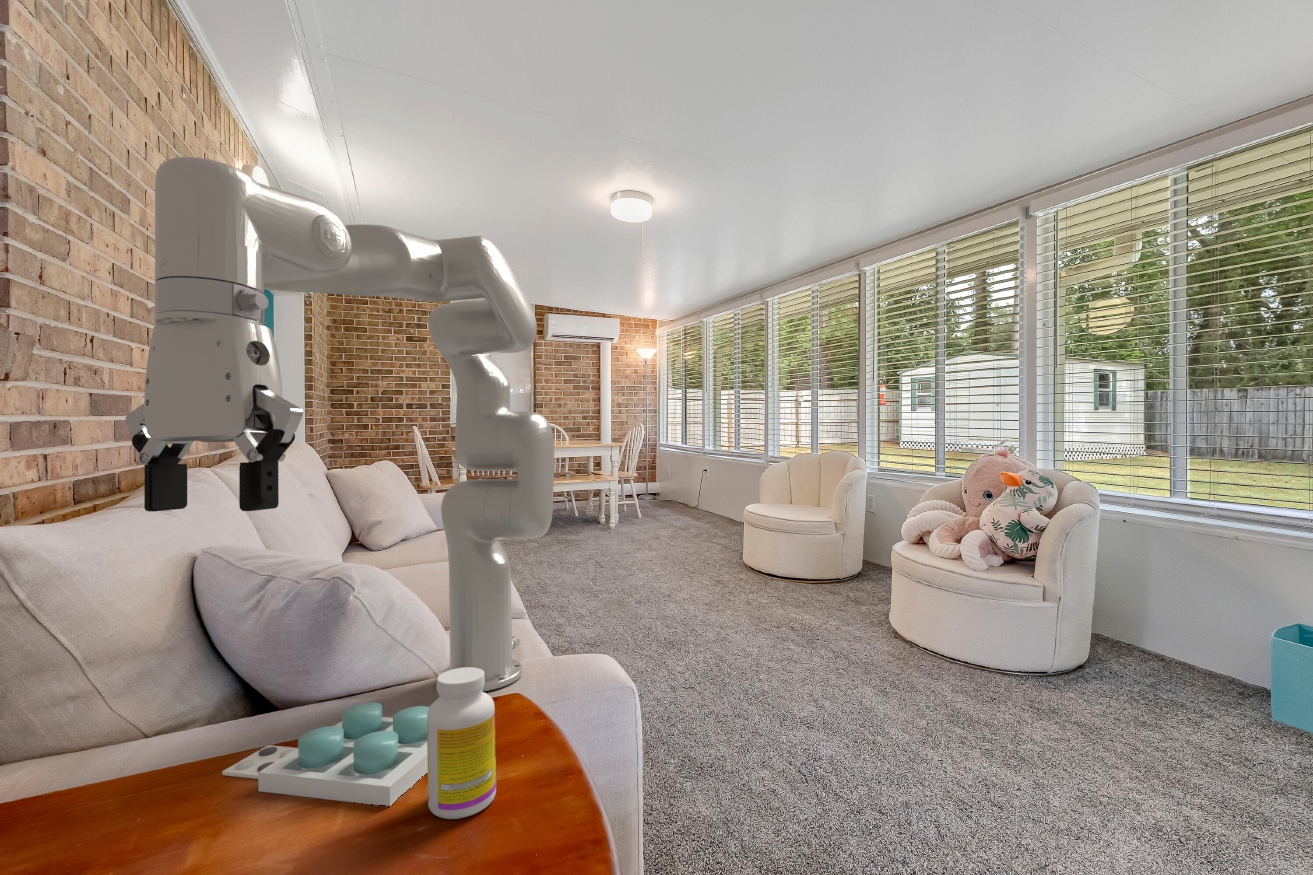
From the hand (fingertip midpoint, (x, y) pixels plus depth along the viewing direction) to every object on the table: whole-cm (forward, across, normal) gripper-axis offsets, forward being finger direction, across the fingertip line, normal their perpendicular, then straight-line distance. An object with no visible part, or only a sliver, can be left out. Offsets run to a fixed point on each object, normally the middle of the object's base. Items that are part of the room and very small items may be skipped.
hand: (212, 509), depth 50 cm
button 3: (+29, -4, -16) cm, 33 cm away
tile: (+31, +12, -17) cm, 38 cm away
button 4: (+29, -4, -22) cm, 37 cm away
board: (+31, 0, -19) cm, 37 cm away
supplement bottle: (+31, -15, -14) cm, 38 cm away
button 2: (+29, +4, -22) cm, 37 cm away
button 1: (+29, +4, -16) cm, 33 cm away
